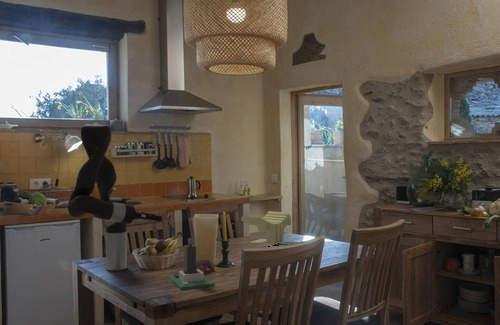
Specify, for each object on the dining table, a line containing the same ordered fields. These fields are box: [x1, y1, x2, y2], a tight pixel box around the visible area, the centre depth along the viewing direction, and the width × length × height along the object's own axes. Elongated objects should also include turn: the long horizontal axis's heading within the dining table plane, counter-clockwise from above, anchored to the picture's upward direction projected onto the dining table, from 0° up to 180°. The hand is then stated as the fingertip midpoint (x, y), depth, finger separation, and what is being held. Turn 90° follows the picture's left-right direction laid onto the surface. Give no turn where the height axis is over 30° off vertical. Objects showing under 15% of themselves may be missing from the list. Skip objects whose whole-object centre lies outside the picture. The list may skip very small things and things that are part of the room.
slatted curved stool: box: [241, 210, 292, 244], centre depth 281 cm, size 30×16×18 cm, turn 147°
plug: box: [183, 238, 197, 274], centre depth 200 cm, size 4×5×17 cm
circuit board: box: [167, 269, 215, 291], centre depth 200 cm, size 20×14×4 cm
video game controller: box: [196, 258, 215, 272], centre depth 218 cm, size 10×5×7 cm, turn 143°
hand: (156, 219), depth 199 cm, fingers open, 8 cm apart
